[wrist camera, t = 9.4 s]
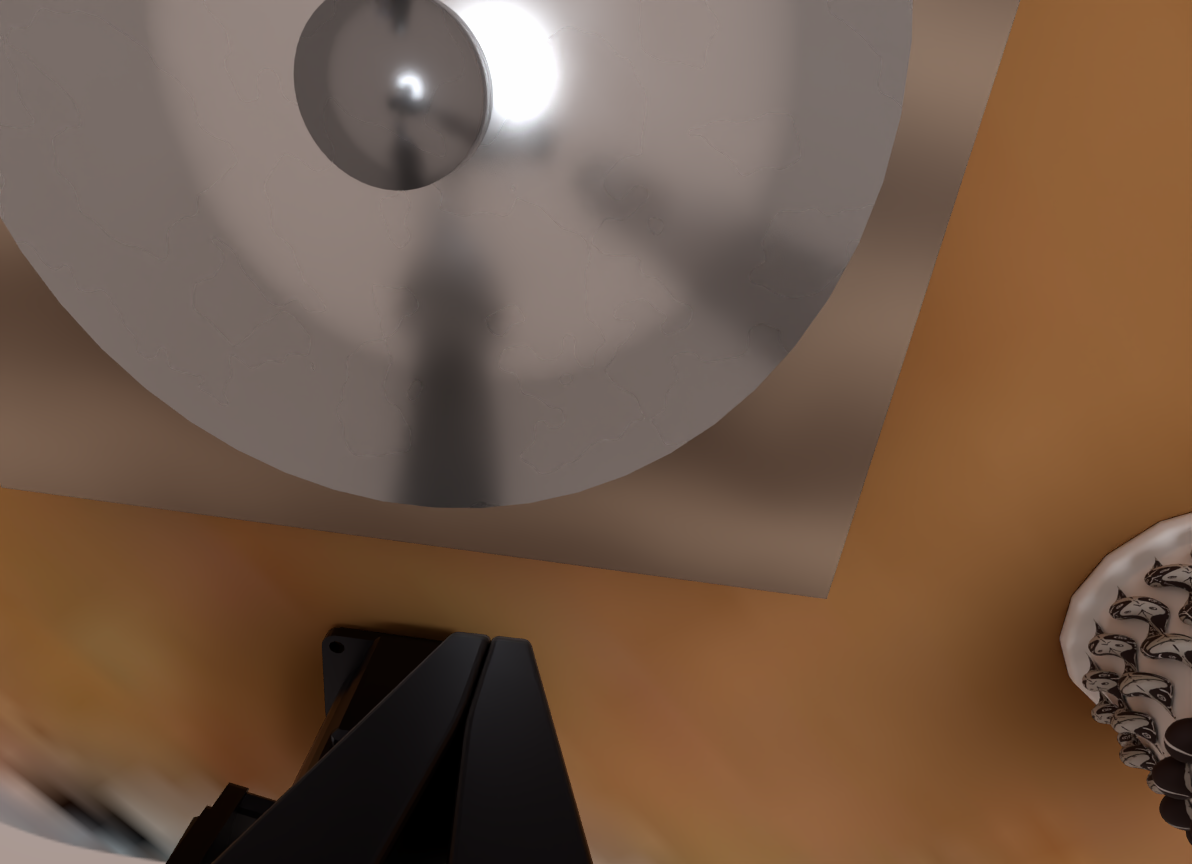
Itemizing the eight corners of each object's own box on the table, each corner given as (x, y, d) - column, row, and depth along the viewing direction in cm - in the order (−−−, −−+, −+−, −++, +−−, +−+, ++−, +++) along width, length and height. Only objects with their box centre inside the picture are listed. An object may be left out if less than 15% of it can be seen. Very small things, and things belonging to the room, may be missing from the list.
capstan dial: (807, 513, 20) (865, 675, 15) (87, 464, 21) (-106, 601, 16) (1026, -600, 11) (1363, -1185, 6) (-230, -620, 12) (-924, -1162, 7)
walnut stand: (815, 567, 23) (834, 622, 21) (39, 462, 23) (-27, 505, 21) (1179, -614, 12) (1298, -765, 10) (-267, -807, 12) (-469, -1000, 10)
